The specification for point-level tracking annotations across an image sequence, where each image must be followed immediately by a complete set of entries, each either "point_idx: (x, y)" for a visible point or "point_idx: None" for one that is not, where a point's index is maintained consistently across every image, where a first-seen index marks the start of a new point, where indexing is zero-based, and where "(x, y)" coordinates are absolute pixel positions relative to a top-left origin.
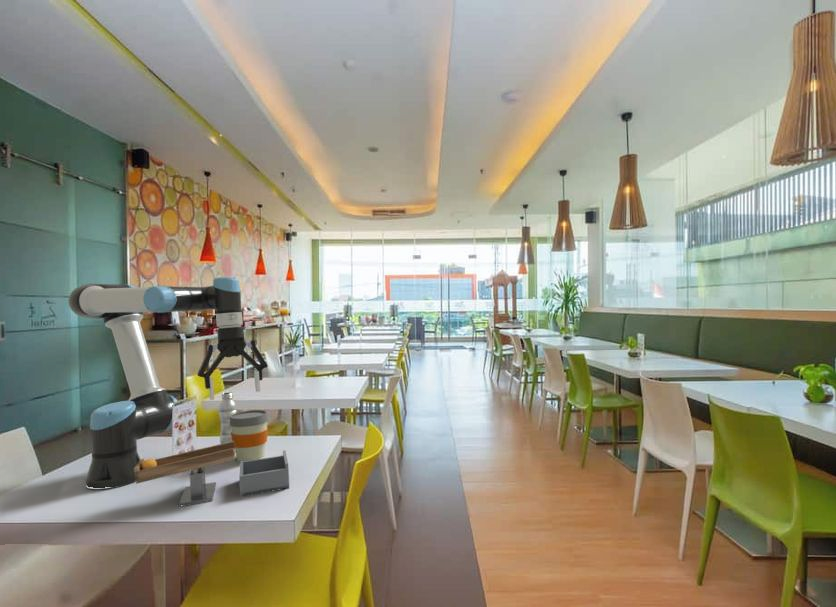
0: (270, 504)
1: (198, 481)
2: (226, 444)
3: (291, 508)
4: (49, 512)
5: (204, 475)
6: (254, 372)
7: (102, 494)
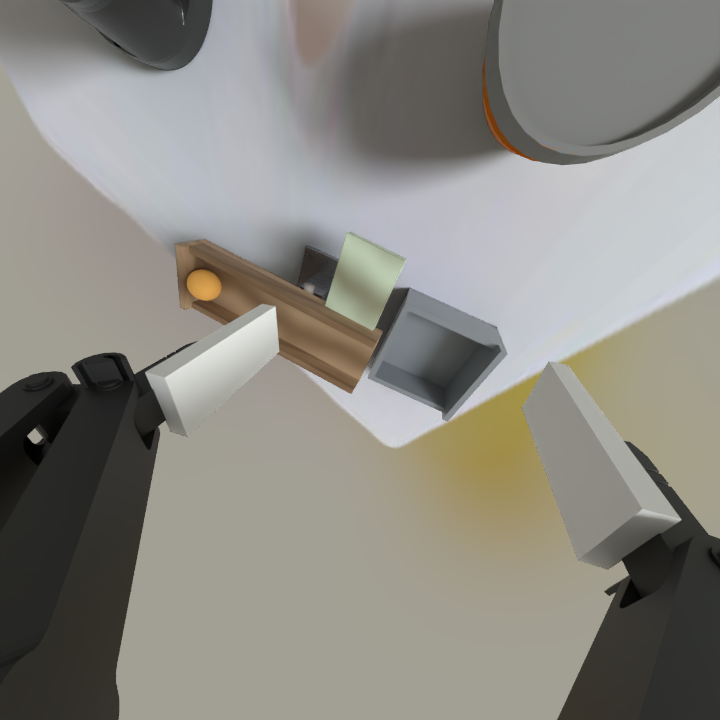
0: (394, 410)
1: None
2: (356, 338)
3: (407, 436)
4: (93, 149)
5: (325, 300)
6: (617, 499)
7: (151, 106)
